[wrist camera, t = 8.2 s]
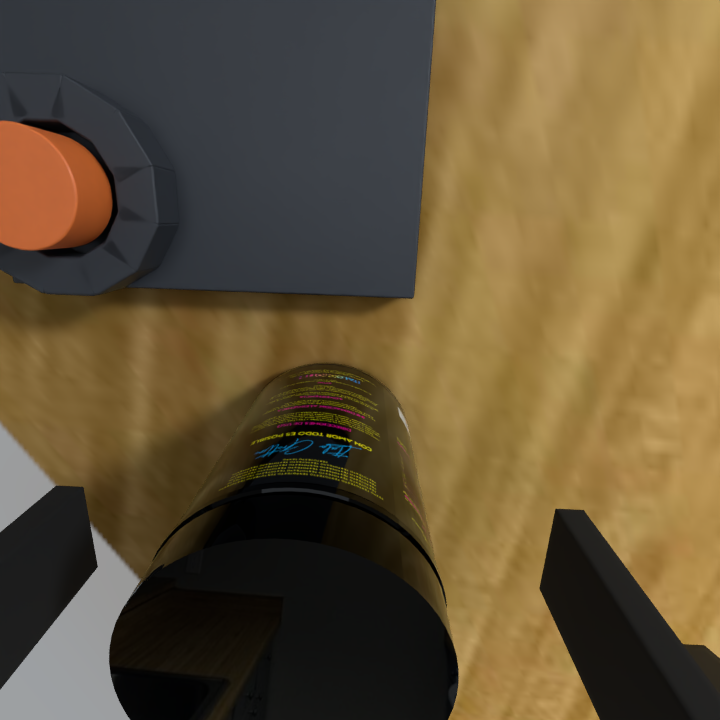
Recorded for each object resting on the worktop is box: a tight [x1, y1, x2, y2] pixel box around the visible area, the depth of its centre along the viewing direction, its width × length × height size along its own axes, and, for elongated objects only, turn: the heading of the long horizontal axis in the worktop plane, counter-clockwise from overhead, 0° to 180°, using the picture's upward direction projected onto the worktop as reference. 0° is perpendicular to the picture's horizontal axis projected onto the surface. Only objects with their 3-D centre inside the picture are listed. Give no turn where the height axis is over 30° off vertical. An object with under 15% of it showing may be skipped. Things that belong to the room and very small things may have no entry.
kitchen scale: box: [0, 0, 436, 299], centre depth 13 cm, size 14×16×3 cm
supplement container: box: [109, 363, 458, 720], centre depth 13 cm, size 7×7×10 cm
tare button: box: [0, 121, 113, 251], centre depth 12 cm, size 3×3×2 cm
